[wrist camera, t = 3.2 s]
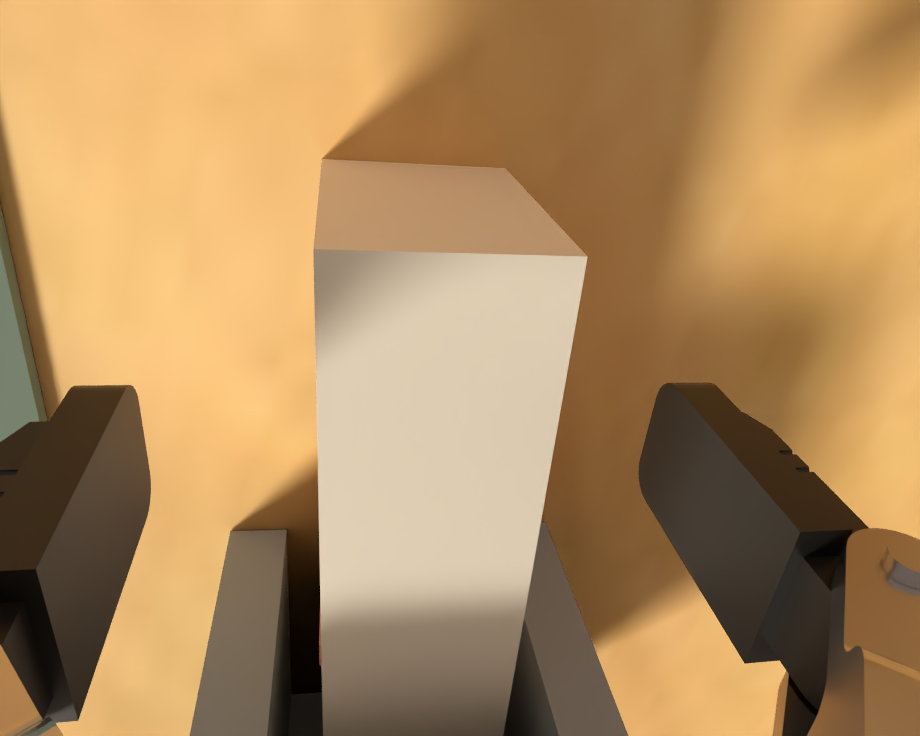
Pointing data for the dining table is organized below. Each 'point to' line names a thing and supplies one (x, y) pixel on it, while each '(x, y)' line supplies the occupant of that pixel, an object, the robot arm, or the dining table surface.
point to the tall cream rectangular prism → (432, 436)
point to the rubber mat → (15, 352)
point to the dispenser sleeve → (300, 715)
